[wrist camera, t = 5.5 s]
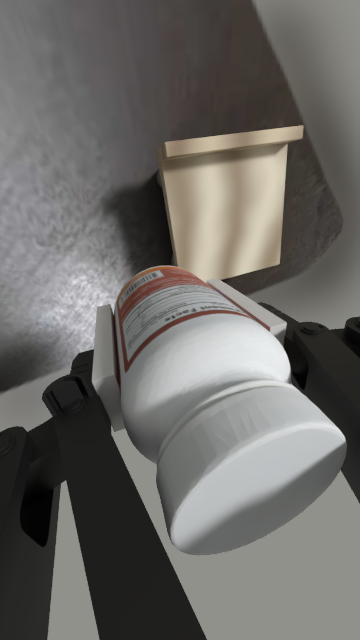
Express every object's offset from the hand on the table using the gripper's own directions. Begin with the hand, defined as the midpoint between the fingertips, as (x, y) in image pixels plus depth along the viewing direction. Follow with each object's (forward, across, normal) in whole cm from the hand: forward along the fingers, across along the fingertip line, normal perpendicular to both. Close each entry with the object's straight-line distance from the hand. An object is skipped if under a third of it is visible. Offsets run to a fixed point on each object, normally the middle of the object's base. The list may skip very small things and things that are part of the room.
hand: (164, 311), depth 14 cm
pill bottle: (+1, 0, 0) cm, 1 cm away
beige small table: (+18, +11, +3) cm, 22 cm away
